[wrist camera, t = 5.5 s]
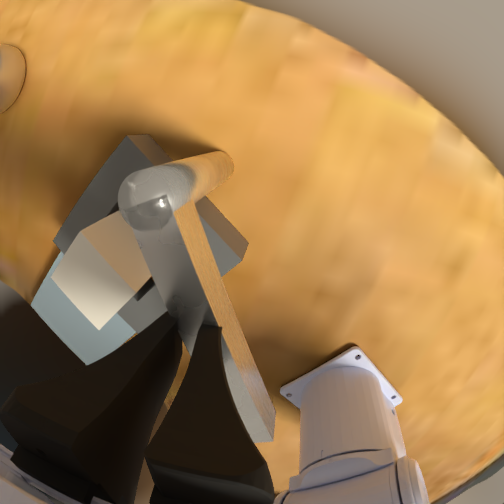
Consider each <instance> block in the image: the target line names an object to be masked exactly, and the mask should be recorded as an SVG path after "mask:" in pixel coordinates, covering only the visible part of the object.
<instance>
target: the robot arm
mask: <svg viewBox="0 0 504 504" xmlns="http://www.w3.org/2000/svg"><path fill="white" fill-rule="evenodd" d="M221 334H222V327H221V326H219V327H218V326H213V325H208V324H203V323H202V324H201V326H200V327H199V330H198V333H197V337H196V340H195V344H194V348H193V352H192V355H191V359H190V363H189V366H188V369H187V372H186V375H185V377H184V379H183V382H182V384H181V386H180V388H179V390H178V392H177V395H176V397H175V399H174V401H173V403H172V405H171V407H170V409H169V411H168V412H167V415H166V416H165V418H164V420H163V422H162V424H161V425H160V427H159V429H158V430H157V432H156V434H155V435H154V437H153V438H152V440H151V442H150V444H149V445H148V442H149V439H150V435H151V432H152V429H153V426H154V423H155V421H156V418H157V416H158V413H159V411H160V409H161V406H162V405H163V402H164V400H165V398H166V396H167V393H168V391H169V389H170V387H171V385H172V382H173V380H174V378H175V375H176V373H177V369H178V366H179V363H180V360H181V356H182V338H181V336H180V334H179V332H178V318H174V317H171V316H170V314H169V312H168V311H166V312H165V313H164V314H162V315H161V316H160V317H159V318H157V319H156V320H155V321H154V322H153V323H151V324H150V325H149V326H148V327H146V328H145V329H144V330H142V331H141V332H140V333H139V334H137V335H136V336H135V337H133V338H132V339H131V340H129V341H128V342H126V343H125V344H123V345H122V346H120V347H119V348H117V349H116V350H114V351H113V352H111V353H110V354H108V355H106V356H105V357H103V358H101V359H99V360H97V361H95V362H93V363H91V364H89V365H87V366H85V367H82V368H80V369H78V370H75V371H73V372H71V373H68V374H65V375H63V376H59V377H56V378H53V379H49V380H46V381H42V382H38V383H33V384H28V385H23V386H17V387H16V389H15V390H14V391H13V392H12V394H11V395H10V396H9V398H8V399H7V401H6V402H5V403H4V404H3V406H2V407H1V408H0V420H1V422H2V423H3V425H4V426H5V428H6V429H7V430H8V432H9V433H10V434H11V436H12V437H13V438H14V439H15V441H16V442H17V443H18V444H19V445H18V447H17V448H16V450H15V452H14V453H12V452H11V451H9V450H8V449H6V448H5V447H4V446H2V445H1V444H0V504H54V503H53V502H52V501H51V500H49V499H48V497H46V495H44V494H43V493H41V492H40V491H38V490H37V489H35V488H34V487H33V486H35V487H36V488H38V489H40V490H41V491H43V492H45V493H47V494H49V495H50V496H52V497H54V498H56V499H58V500H60V501H61V502H63V503H65V504H134V500H135V495H136V490H137V485H138V480H139V476H140V472H141V468H142V464H143V460H144V457H145V459H146V462H147V465H148V468H149V470H150V473H151V476H152V479H153V481H154V484H155V485H154V488H153V491H152V494H151V497H150V502H149V503H150V504H429V499H428V494H427V490H426V486H425V482H424V479H423V476H422V473H421V470H420V467H419V465H418V463H417V461H416V460H415V459H412V458H409V457H408V456H406V450H405V445H404V441H403V437H402V433H401V429H400V426H399V422H398V418H397V414H396V411H395V406H397V405H398V404H400V403H401V402H402V397H401V395H400V394H399V393H398V392H397V391H396V390H395V388H394V387H393V386H392V385H391V384H390V383H389V381H388V380H387V379H386V378H385V377H384V376H383V374H382V373H381V372H380V371H379V370H378V369H377V367H376V366H375V365H374V364H373V363H372V362H371V360H370V359H369V358H368V357H367V356H366V355H365V353H364V352H363V351H362V350H361V349H360V348H359V347H357V346H354V347H351V348H350V349H348V350H347V351H345V352H343V353H342V354H340V355H338V356H337V357H335V358H333V359H332V360H330V361H328V362H326V363H325V364H323V365H321V366H319V367H318V368H316V369H314V370H312V371H311V372H309V373H307V374H305V375H303V376H301V377H300V378H298V379H296V380H294V381H292V382H290V383H288V384H286V385H284V386H282V387H281V388H280V394H281V395H283V396H284V397H285V398H286V399H288V400H289V401H290V402H291V403H293V404H294V405H295V406H296V407H298V408H299V409H300V460H299V475H297V476H293V477H290V481H289V490H285V491H283V492H281V493H280V494H278V496H277V497H276V498H275V495H274V487H273V482H272V479H271V475H270V472H269V469H268V466H267V462H266V461H265V459H264V458H263V456H262V455H261V454H260V452H259V450H258V449H257V447H256V446H255V444H254V442H253V440H252V439H251V437H250V435H249V433H248V431H247V430H246V427H245V425H244V423H243V421H242V419H241V417H240V415H239V412H238V410H237V408H236V405H235V402H234V400H233V397H232V394H231V391H230V388H229V384H228V381H227V377H226V372H225V368H224V362H223V355H222V346H221ZM357 355H360V356H358V357H356V356H357ZM288 393H290V394H288ZM29 483H30V484H32V485H33V486H31V485H30V484H29ZM274 499H275V500H274Z"/></svg>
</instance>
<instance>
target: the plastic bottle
mask: <svg viewBox="0 0 504 504" xmlns="http://www.w3.org/2000/svg"><path fill="white" fill-rule="evenodd" d="M25 72H26V64H25V59H24V57H23V55H22V53H21V52H20V50H19V49H17V48H15V47H13V46H10V45H7V44H0V113H3V112H4V111H6V110H7V109H8V108H9V107H10V106H11V105H12V104H13V103H14V102H15V100H16V99H17V97H18V95H19V93H20V91H21V89H22V86H23V83H24V78H25Z"/></svg>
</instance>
